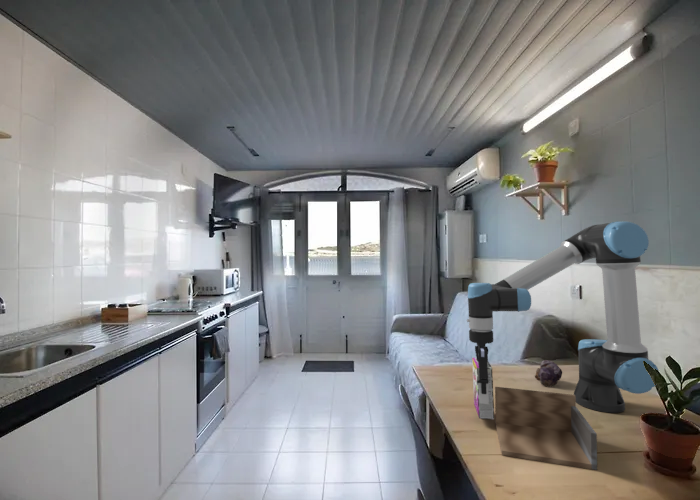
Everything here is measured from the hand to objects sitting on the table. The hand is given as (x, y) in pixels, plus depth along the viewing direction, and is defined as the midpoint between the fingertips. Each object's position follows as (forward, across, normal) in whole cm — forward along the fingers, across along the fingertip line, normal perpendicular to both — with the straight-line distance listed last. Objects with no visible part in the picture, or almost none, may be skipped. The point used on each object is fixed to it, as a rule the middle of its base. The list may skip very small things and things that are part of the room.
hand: (482, 396), depth 115 cm
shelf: (+8, +12, +14) cm, 20 cm away
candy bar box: (+5, 0, 0) cm, 5 cm away
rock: (+9, -43, +28) cm, 52 cm away
